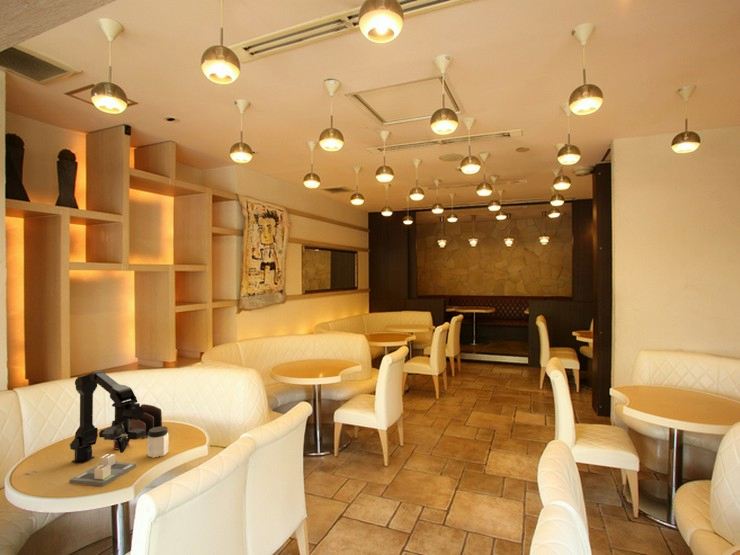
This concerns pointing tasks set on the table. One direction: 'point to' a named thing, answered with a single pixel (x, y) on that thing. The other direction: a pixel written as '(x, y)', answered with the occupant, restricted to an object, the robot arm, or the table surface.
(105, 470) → the tab near
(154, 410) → the letter holder
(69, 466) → the table surface
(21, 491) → the table surface
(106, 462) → the tab far
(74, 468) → the table surface
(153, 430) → the jar
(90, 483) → the switch board
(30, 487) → the table surface
